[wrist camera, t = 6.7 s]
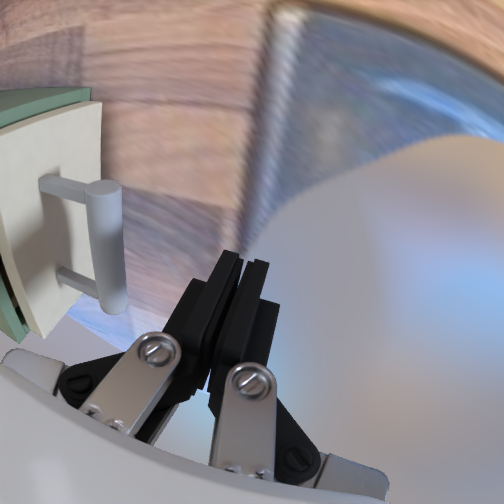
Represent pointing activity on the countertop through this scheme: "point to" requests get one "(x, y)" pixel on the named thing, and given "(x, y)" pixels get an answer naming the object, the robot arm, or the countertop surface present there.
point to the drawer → (59, 217)
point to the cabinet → (10, 112)
